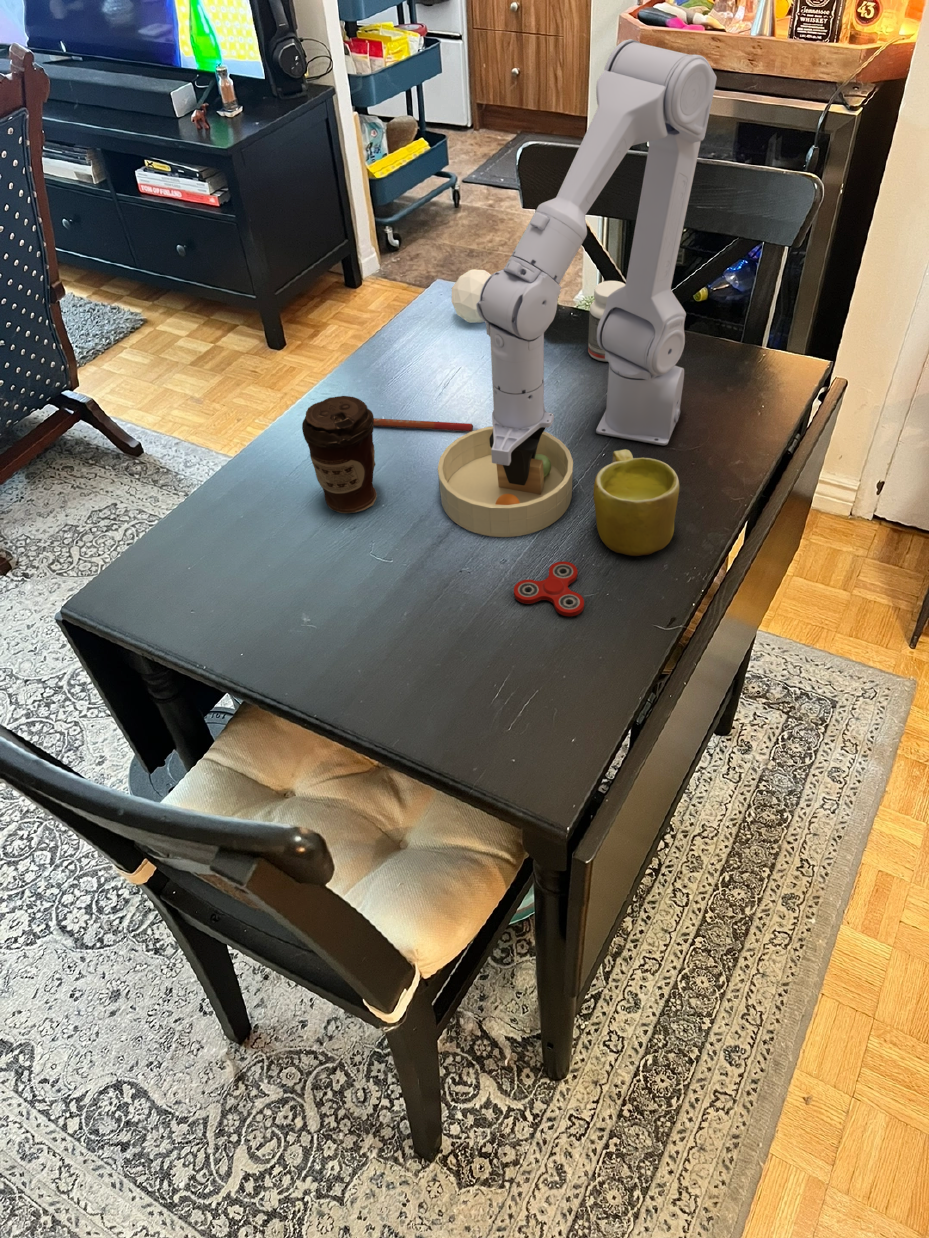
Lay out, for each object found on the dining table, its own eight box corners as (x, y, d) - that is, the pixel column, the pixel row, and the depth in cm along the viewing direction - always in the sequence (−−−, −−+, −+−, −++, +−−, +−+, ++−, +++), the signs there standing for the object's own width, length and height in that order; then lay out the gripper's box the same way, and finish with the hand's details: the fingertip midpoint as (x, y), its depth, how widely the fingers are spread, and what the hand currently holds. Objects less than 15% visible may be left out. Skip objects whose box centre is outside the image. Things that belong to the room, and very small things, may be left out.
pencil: (473, 428, 122) (473, 422, 122) (472, 433, 122) (472, 426, 121) (338, 420, 126) (337, 415, 125) (336, 425, 125) (335, 419, 124)
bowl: (588, 467, 116) (589, 437, 112) (547, 549, 105) (547, 520, 102) (469, 444, 120) (467, 415, 117) (420, 521, 110) (416, 492, 107)
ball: (489, 338, 144) (501, 314, 136) (441, 322, 142) (450, 297, 135) (500, 296, 145) (513, 269, 137) (452, 279, 144) (462, 252, 136)
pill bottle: (629, 362, 132) (634, 297, 124) (589, 364, 132) (592, 299, 125) (624, 341, 135) (629, 277, 128) (586, 343, 136) (589, 279, 129)
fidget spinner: (509, 601, 100) (509, 592, 99) (535, 558, 105) (535, 550, 104) (577, 622, 97) (577, 613, 96) (601, 577, 102) (602, 569, 101)
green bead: (553, 479, 112) (558, 458, 113) (535, 466, 110) (540, 446, 112) (537, 485, 114) (542, 466, 115) (519, 474, 113) (525, 454, 114)
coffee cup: (374, 525, 110) (358, 436, 101) (309, 519, 112) (287, 431, 102) (392, 480, 116) (379, 392, 107) (330, 475, 118) (312, 388, 108)
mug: (696, 554, 101) (675, 477, 95) (606, 576, 104) (581, 502, 98) (687, 501, 110) (667, 428, 105) (604, 523, 113) (582, 453, 108)
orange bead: (526, 512, 109) (519, 516, 106) (504, 520, 110) (496, 523, 108) (518, 489, 109) (511, 491, 106) (496, 496, 110) (488, 499, 107)
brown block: (541, 495, 112) (539, 468, 108) (498, 487, 113) (495, 460, 109) (544, 487, 112) (543, 460, 109) (501, 479, 114) (499, 452, 110)
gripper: (534, 422, 95) (535, 520, 105) (569, 350, 105) (566, 447, 115) (471, 412, 97) (477, 510, 107) (510, 343, 107) (513, 439, 116)
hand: (519, 477), depth 111 cm, fingers closed on brown block, 1 cm apart
